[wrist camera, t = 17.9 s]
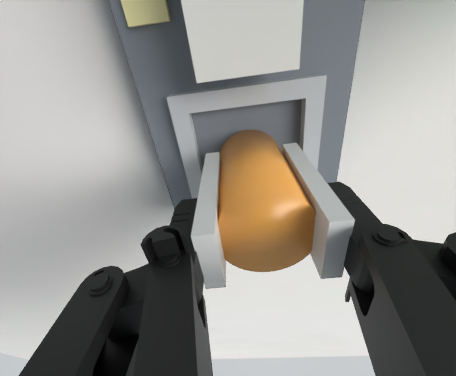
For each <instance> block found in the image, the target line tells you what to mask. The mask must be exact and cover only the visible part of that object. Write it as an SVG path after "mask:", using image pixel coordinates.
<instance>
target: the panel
mask: <svg viewBox="0 0 456 376" xmlns="http://www.w3.org/2000/svg"><path fill="white" fill-rule="evenodd" d="M364 3H365V0H304V4H303V20H302V35H301V51H300V67H299V69H296V70H289V71H282V72H275V73H267V74H260V75H253V76H246V77H238V78H231V79H224V80H217V81H209V82H202V83H197V82H196V77H195V72H194V66H193V61H192V56H191V51H190V45H189V40H188V35H187V30H186V25H185V19H184V14H183V9H182V4H181V0H109V4H110V7H111V10H112V13H113V16H114V19H115V23H116V26H117V29H118V32H119V35H120V38H121V42H122V45H123V48H124V51H125V54H126V57H127V61H128V64H129V67H130V70H131V73H132V76H133V79H134V83H135V86H136V89H137V92H138V95H139V98H140V102H141V105H142V108H143V111H144V114H145V117H146V121H147V124H148V127H149V130H150V133H151V136H152V140H153V143H154V146H155V149H156V152H157V155H158V159H159V162H160V165H161V168H162V171H163V174H164V178H165V181H166V184H167V187H168V190H169V193H170V197H171V200H172V203H173V206H174V209H175V207H176V206H177V205H178V204H179V202H180V201H181V200H184V199H193V198H198V194H199V188H200V183H201V177H202V172H203V166H204V161H205V156H206V153H214V152H219V154H220V151H221V148H222V146H223V145H224V143H225V142H226V141H227V140H228V139H229V138H230V137H231V136H232V135H234V134H236V133H238V132H241V131H244V130H259V131H262V132H265V133H267V134H269V135H270V136H271V137H272V138H273V139H274V140H275V141H276V142H277V144H278V146H279V147H280V149H281V151H282V149H283V144H289V143H297V144H298V145H299V147H300V148H301V149H302V151H303V152H304V153H305V155H306V156H307V157H308V159H309V160H310V161H311V163H312V164H313V165H314V167H315V168H316V169H317V170H318V172H319V173H320V174H321V176H322V177H323V178H324V180H325V181H326V182H327V183H332V182H336V181H337V175H338V169H339V162H340V156H341V149H342V143H343V137H344V130H345V124H346V118H347V111H348V105H349V98H350V92H351V86H352V79H353V73H354V66H355V60H356V54H357V47H358V41H359V35H360V28H361V22H362V15H363V9H364Z"/></svg>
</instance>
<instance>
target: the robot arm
mask: <svg viewBox="0 0 456 376" xmlns="http://www.w3.org/2000/svg"><path fill="white" fill-rule="evenodd" d="M282 153H283V155H284V157H285V158H286V160H287V162H288V164H289V165H290V167H291V169H292V171H293V173H294V174H295V176H296V178H297V180H298V182H299V183H300V185H301V187H302V189H303V191H304V192H305V194H306V196H307V198H308V199H309V201H310V203H311V205H312V207H313V208H314V210H315V212H316V216H315V226H314V235H313V245H312V251H311V253H310V254H311V256H312V259H313V261H314V263H315V266H316V268H317V271H318V273H319V275H320V278H321V279H325V278H336V277H342V275H343V270H344V267H345V269H346V270H347V272H348V274H349V276H350V279H349V283H348V287H347V290H346V294H345V302H349V300H350V296H351V297H352V301H353V304H354V307H355V310H356V314H357V317H358V320H359V323H360V327H361V330H362V333H363V336H364V340H365V343H366V346H367V349H368V353H369V356H370V359H371V362H372V365H373V369H374V372H375V375H376V376H456V232H455V233H453V234H450V235H448V237H447V238H446V240H445V242H444V244H441V243H434V242H426V241H418V240H413V239H412V238H411V237H410V236H409V235H408V234H407V233H406V232H404V231H402V230H400V229H399V228H397V227H394V226H391V225H388V224H382V223H381V222H380V220H379V219H378V218H377V217H376V216H375V215H374V214H373V213H372V212H371V210H370V209H369V208H368V207H367V206H366V205H365V204H364V203H363V202H362V201H361V199H360V198H359V197H358V196H356V194H355V193H354V192H353V190H352V189H351V188H350V187H348V186H346V185H345V184H343V183H341V182H332V183H327V182H326V181H325V180H324V178H323V177H322V176H321V174H320V173H319V172H318V170H317V169H316V168H315V167H314V165H313V164H312V163H311V161H310V160H309V159H308V157H307V156H306V155H305V153H304V152H303V151H302V149H301V148H300V147H299V145H298V144H297V143H289V144H283V149H282ZM219 183H220V154H219V152H214V153H206V156H205V161H204V166H203V172H202V177H201V183H200V188H199V194H198V198H193V199H184V200H181V201H180V202H179V204H178V205H177V206H176V207H175V210H174V213H173V216H172V220H171V223H170V225H169V226H162V227H159V228H157V229H155V230H153V231H151V232H150V233H149V234H148V235H147V236H146V237H145V238H144V239H143V241H142V243H141V247H142V249H143V251H144V253H145V256H146V258H147V260H148V262H149V263H148V264H147V265H144V266H142V267H140V268H137V269H134V270H132V271H129V272H126V273H123V271H122V270H121V269H120V268H119V267H115V266H108V267H103V268H101V269H99V270H97V271H95V272H93V273H92V274H91V275H89V276H88V277H87V278H86V279H85V280H84V281H83V282H82V283H81V284H80V286H79V287H78V289H77V290H76V292H75V293H74V295H73V296H72V298H71V299H70V301H69V302H68V304H67V305H66V307H65V308H64V309H63V311H62V312H61V314H60V315H59V317H58V318H57V320H56V321H55V323H54V324H53V326H52V327H51V329H50V330H49V332H48V333H47V335H46V336H45V338H44V339H43V341H42V342H41V344H40V345H39V346H38V348H37V349H36V351H35V352H34V354H33V355H32V357H31V358H30V360H29V361H28V363H27V364H26V366H25V367H24V369H23V370H22V372H21V373H20V375H19V376H213V371H212V362H211V353H210V344H209V334H208V325H207V316H206V307H205V300H204V296H203V283H204V284H205V288H206V289H209V288H220V287H226V260H225V258H224V253H223V248H222V243H221V237H220V232H219V227H218V207H219Z"/></svg>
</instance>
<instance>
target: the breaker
mask: <svg viewBox="0 0 456 376" xmlns="http://www.w3.org/2000/svg"><path fill="white" fill-rule="evenodd" d="M181 4H182V9H183V14H184V19H185V25H186V30H187V35H188V40H189V45H190V51H191V56H192V61H193V66H194V72H195V77H196V82H197V83H202V82H209V81H217V80H224V79H231V78H238V77H246V76H253V75H260V74H267V73H275V72H282V71H289V70H296V69H299V67H300V51H301V35H302V20H303V4H304V0H181Z"/></svg>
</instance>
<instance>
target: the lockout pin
mask: <svg viewBox="0 0 456 376" xmlns="http://www.w3.org/2000/svg"><path fill="white" fill-rule="evenodd" d="M315 216H316V212H315V210H314V208H313V207H312V205H311V203H310V201H309V199H308V198H307V196H306V194H305V192H304V191H303V189H302V187H301V185H300V183H299V182H298V180H297V178H296V176H295V174H294V173H293V171H292V169H291V167H290V165H289V164H288V162H287V160H286V158H285V157H284V155H283V153H282V151H281V149H280V147H279V146H278V144H277V142H276V141H275V140H274V139H273V138H272V137H271V136H270V135H269V134H267V133H265V132H262V131H259V130H244V131H241V132H238V133H236V134H234V135H232V136H231V137H230V138H229V139H228V140H227V141H226V142H225V143H224V145H223V146H222V148H221V151H220V183H219V207H218V227H219V232H220V237H221V243H222V248H223V253H224V258H225V260H227V261H228V262H229V263H231V264H232V265H234V266H236V267H239V268H241V269H244V270H249V271H255V272H270V271H276V270H281V269H284V268H287V267H290V266H292V265H294V264H296V263H298V262H299V261H301V260H303V259H304V258H305V257H306V256H308V255H309V254H310V253H311V251H312V245H313V235H314V226H315Z"/></svg>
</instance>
